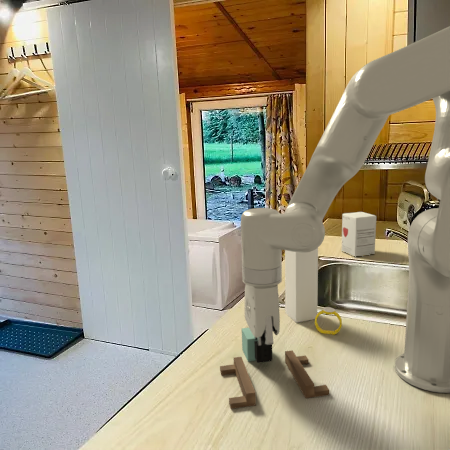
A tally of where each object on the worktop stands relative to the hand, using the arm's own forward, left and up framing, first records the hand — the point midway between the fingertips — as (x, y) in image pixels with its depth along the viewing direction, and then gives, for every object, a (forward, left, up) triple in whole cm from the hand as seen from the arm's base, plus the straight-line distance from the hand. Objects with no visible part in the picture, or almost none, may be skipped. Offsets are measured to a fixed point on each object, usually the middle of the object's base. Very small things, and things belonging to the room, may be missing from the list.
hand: (263, 359), depth 83 cm
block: (0, -5, -1) cm, 5 cm away
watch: (-18, -10, -2) cm, 21 cm away
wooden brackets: (0, +6, -1) cm, 6 cm away
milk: (-15, -20, -2) cm, 25 cm away
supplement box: (-54, -67, -2) cm, 86 cm away
